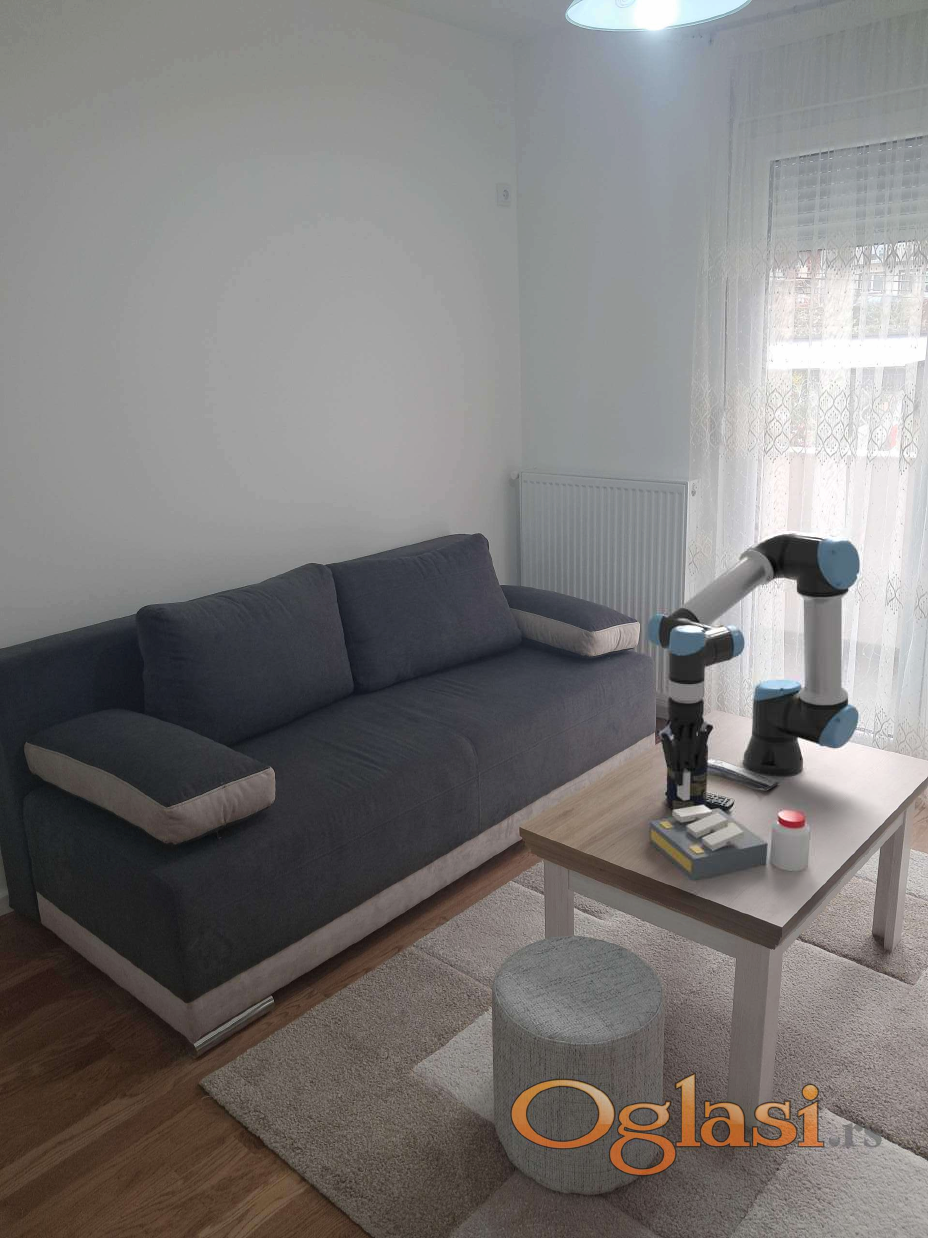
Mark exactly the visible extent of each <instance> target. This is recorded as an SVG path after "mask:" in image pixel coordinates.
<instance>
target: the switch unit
mask: <svg viewBox="0 0 928 1238" xmlns="http://www.w3.org/2000/svg"><path fill="white" fill-rule="evenodd" d="M710 810H711V811H713V812H712V815H713V814H715V813H717V812H718V813H719V814H720V815H722V816H723V817H724V818H726V819H727V822H728V825H727V826H724V827H722V828H720V829H717V830H715V832H716V831H719V830H721V829H723V828H726V827H728V826H731V825H733V824H734V825H735V826H737V827H738V828H740V829H741V830H742V831H744V838H741V839H739V840H737V841H734V842H732V843H731V845H730V846H728V845H725V846H723V847H721V848H718V849H716V850H714V851H712V850H711V849H709V848H708V847H707V846H706V845H704V844H703V841H702V837H705V836H707V835H709V834H712V833H711V832H710V833H708V834H705V835H703V836H701V837H698V838H696V837H694V836H693V835H692V834H691V833H689V832H688V831H687V826H686V825H689V824H691V823H694V822H696V821H695V820H693V821H687V822H680V821H678V820H677V819H676V818H675V817H673V816H671V817H666V818H663V819H661V818H660V819H657V820H656V819H655V820H651V821H650V822H649V843H650V844H651V845H652V846H654V848H656V849H657V850H658V851H659V852H660V853H661V854H663V856H665V857H666V858H667V859H668V860H669V861H670V862H672V863H673V864H674V865H675V866H676V867H677V868H678V869H680V870H681V871H682V872H683V873H684V874H685V875H686V876H688V877H689V878H690V879H691V880H692V881H698V880H702V879H706V878H707V879H708V878H711V877H716V876H721V875H725V874H729V873H734V872H737V871H744V870H747V869H752V868H756V867H760V866H765V865H767V860H768V859H767V857H768V845H769V843H768V842H767V841H765V840H764V839H762V838H761V837H760V836H758V835H757V834H756V833H754V832H753V831H752V830H750V829H749V828H747V827H746V826H744V825H743V824H742V823H740V822H738V821H737V820H736V819H735V818H733V817H732V816H731V815H729V814H728V813H726V812H725V811H723V810H722V809H721V808H719V807H718V808H712V809H710ZM699 820H701V819H699Z"/></svg>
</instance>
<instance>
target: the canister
mask: <svg viewBox="0 0 928 1238" xmlns="http://www.w3.org/2000/svg"><path fill="white" fill-rule="evenodd" d="M671 742H672V746H673V751H674V739H673V738H672V739H671ZM708 763H709V746H708V744H707V745H706V749H705V753H704V757H703V761H702V765H701V767H696V768H695V769H696V772H694V773H693V782H692V784H690V799H689V800H682V799H681V798H680V797H678V796H677V784H675V772H673V771H672V770H670V769H669V768H668V767H667V766H666V768H667V769H666V801H665V802H666V804H667V806H668V807H669V808H670V809H671V810H672V811H673V810H675V809H681V808H687V807H693V806H699V805H705V806H706V804H707V787H708V785H707V784H708V767H709V766H708V765H709V764H708ZM684 768H685V767H684Z"/></svg>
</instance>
